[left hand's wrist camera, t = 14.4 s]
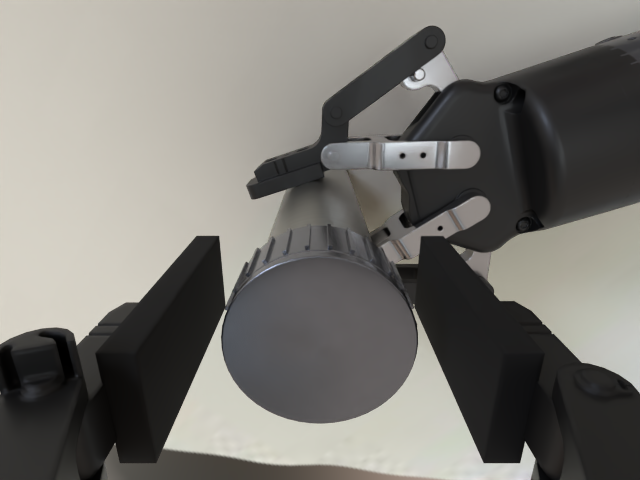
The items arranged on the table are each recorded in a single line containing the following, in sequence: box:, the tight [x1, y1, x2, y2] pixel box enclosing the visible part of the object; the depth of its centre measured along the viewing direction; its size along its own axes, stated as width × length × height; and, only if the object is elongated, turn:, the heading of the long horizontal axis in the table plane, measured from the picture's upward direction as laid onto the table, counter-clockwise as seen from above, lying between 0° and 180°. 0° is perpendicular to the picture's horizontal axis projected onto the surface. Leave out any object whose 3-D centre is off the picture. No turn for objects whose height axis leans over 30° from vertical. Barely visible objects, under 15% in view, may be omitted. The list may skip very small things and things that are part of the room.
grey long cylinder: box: [268, 169, 372, 242], centre depth 19 cm, size 4×4×17 cm
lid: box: [221, 224, 418, 423], centre depth 11 cm, size 5×5×2 cm
